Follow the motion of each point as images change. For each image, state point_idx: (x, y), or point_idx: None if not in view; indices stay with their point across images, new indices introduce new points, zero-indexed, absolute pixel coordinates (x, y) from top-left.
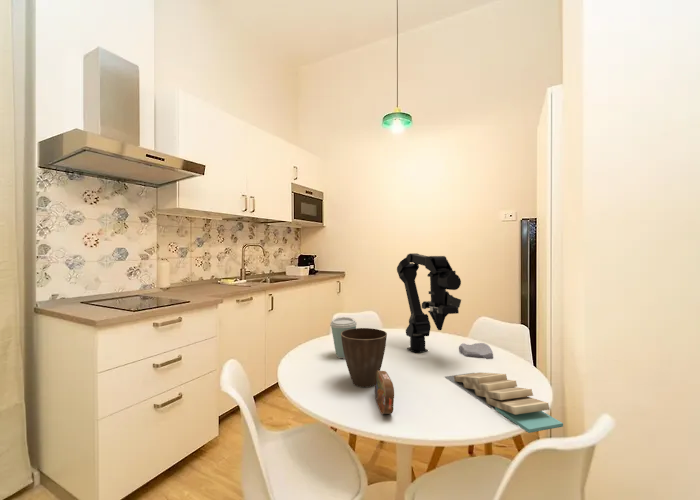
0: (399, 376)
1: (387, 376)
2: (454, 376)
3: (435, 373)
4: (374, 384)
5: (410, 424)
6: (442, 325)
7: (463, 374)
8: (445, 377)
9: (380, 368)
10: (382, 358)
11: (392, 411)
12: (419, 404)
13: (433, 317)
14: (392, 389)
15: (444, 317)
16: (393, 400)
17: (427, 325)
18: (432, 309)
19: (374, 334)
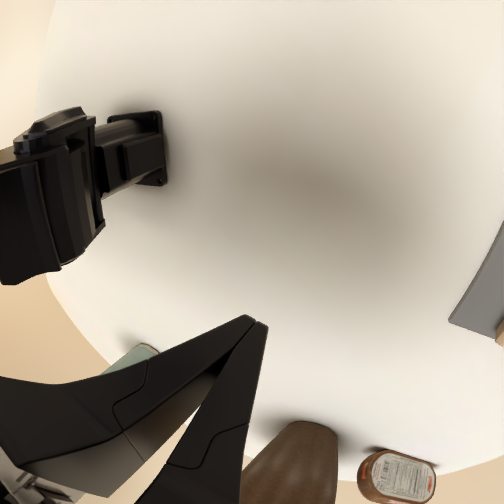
0: (334, 388)
1: (399, 502)
2: (498, 342)
3: (401, 307)
4: (335, 435)
5: (464, 459)
6: (258, 376)
7: (499, 244)
8: (456, 323)
9: (330, 461)
10: (330, 486)
11: (434, 473)
12: (454, 435)
13: (150, 456)
14: (427, 501)
15: (234, 501)
16: (434, 490)
17: (49, 177)
18: (75, 501)
19: (245, 501)
